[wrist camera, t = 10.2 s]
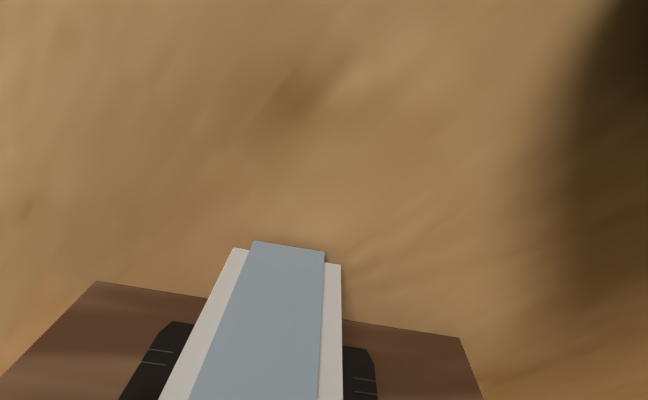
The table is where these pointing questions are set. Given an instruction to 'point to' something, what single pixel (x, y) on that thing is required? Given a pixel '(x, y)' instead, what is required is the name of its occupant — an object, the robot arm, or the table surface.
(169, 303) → the walnut notched block
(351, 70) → the table surface
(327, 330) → the robot arm
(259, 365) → the light blue notched brick
